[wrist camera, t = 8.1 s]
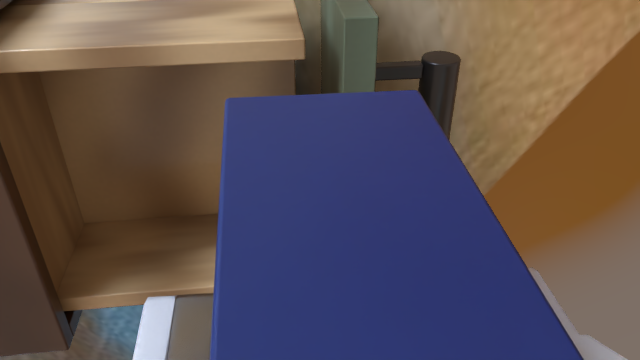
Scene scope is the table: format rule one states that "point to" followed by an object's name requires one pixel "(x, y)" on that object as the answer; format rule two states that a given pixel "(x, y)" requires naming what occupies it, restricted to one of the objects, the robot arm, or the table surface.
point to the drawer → (158, 124)
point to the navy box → (364, 240)
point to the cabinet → (26, 280)
